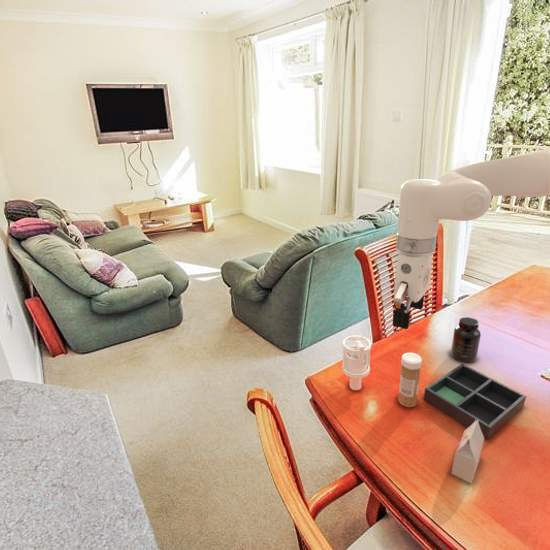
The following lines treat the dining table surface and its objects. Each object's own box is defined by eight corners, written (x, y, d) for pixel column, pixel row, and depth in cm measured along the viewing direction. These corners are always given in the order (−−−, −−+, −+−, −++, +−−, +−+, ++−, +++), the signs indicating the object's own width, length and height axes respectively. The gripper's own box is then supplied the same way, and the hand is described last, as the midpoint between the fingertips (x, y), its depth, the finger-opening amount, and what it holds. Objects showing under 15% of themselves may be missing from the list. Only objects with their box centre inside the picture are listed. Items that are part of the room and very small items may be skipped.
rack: (523, 407, 90) (526, 396, 89) (487, 439, 82) (490, 427, 81) (460, 373, 102) (462, 363, 101) (423, 399, 94) (425, 388, 93)
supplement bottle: (451, 347, 114) (456, 313, 109) (476, 352, 111) (483, 317, 106) (449, 360, 108) (455, 324, 103) (476, 365, 105) (483, 329, 100)
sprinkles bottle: (420, 402, 93) (426, 358, 88) (409, 411, 91) (414, 365, 86) (405, 392, 97) (409, 349, 92) (393, 400, 95) (397, 356, 89)
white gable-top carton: (479, 459, 78) (487, 423, 74) (471, 483, 73) (479, 445, 69) (460, 451, 80) (467, 415, 76) (451, 473, 75) (458, 436, 71)
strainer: (347, 397, 97) (348, 348, 91) (338, 379, 103) (339, 333, 97) (373, 393, 97) (375, 344, 91) (363, 376, 104) (365, 329, 98)
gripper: (421, 259, 67) (412, 340, 74) (446, 234, 79) (436, 305, 86) (381, 253, 71) (376, 330, 78) (411, 229, 84) (404, 297, 90)
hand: (408, 316), depth 82 cm, fingers open, 9 cm apart
